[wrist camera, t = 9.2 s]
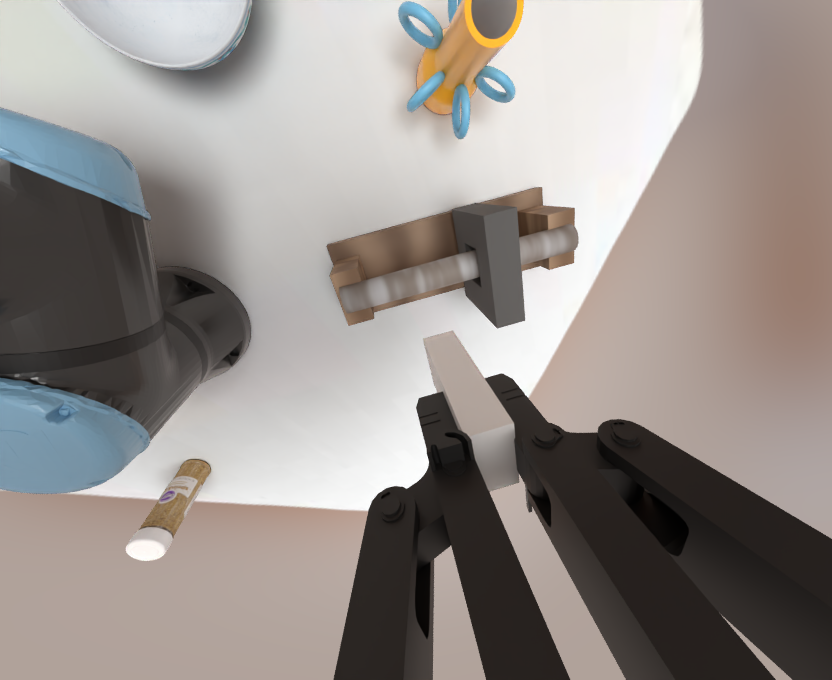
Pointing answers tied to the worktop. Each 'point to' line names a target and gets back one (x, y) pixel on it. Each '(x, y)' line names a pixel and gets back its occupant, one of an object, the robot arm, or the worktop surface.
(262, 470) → the worktop surface
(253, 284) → the worktop surface
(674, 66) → the worktop surface
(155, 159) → the worktop surface
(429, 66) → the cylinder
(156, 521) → the sprinkles bottle
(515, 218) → the collar
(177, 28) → the chinaware
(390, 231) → the pipe stand
